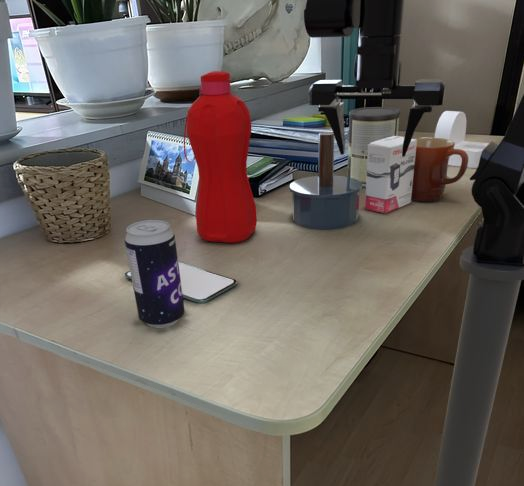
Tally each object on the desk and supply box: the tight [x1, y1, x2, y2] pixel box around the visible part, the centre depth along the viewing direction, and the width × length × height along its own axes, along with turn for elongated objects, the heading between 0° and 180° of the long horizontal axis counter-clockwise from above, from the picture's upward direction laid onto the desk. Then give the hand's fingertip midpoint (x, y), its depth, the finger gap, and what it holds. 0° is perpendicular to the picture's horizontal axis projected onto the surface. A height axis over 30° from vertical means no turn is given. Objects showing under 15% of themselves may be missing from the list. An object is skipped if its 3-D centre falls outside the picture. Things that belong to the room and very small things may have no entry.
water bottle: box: [183, 70, 258, 244], centre depth 86 cm, size 9×11×25 cm
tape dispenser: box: [422, 110, 490, 169], centre depth 128 cm, size 10×18×11 cm, turn 51°
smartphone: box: [124, 261, 238, 304], centre depth 77 cm, size 8×1×16 cm
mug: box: [411, 137, 468, 203], centre depth 102 cm, size 12×9×10 cm
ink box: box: [364, 135, 417, 214], centre depth 99 cm, size 8×5×12 cm, turn 134°
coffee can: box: [346, 106, 401, 188], centre depth 114 cm, size 10×10×14 cm
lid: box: [289, 131, 363, 199], centre depth 93 cm, size 13×13×10 cm
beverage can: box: [124, 219, 186, 329], centre depth 65 cm, size 6×6×12 cm
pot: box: [291, 192, 360, 230], centre depth 97 cm, size 12×12×5 cm
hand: (372, 154), depth 82 cm, fingers open, 9 cm apart
